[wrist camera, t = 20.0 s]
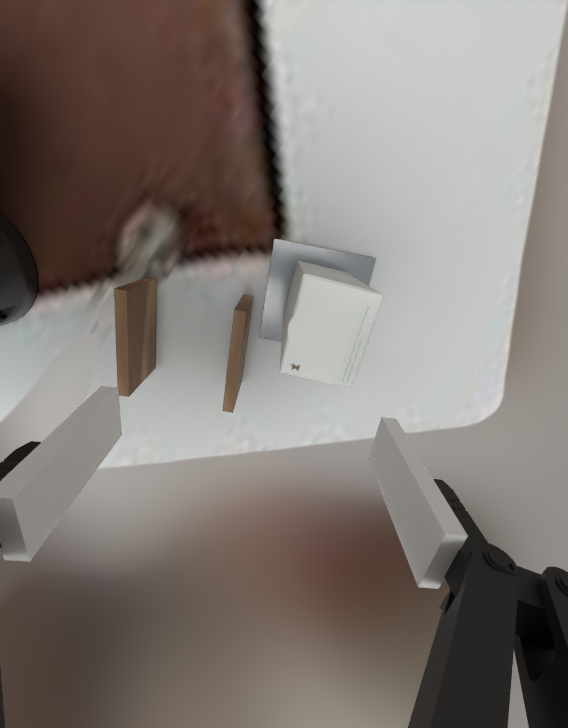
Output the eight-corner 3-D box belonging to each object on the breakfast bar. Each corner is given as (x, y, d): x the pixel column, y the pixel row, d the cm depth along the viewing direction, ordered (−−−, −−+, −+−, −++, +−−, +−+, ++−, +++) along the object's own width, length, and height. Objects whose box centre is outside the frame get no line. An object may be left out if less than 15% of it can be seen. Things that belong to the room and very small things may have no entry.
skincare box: (328, 335, 40) (353, 394, 26) (278, 323, 40) (275, 377, 25) (349, 269, 37) (390, 295, 23) (295, 255, 36) (302, 273, 22)
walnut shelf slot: (146, 366, 43) (117, 395, 35) (147, 277, 38) (114, 288, 31) (241, 381, 44) (232, 412, 36) (253, 296, 39) (246, 311, 32)
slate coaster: (259, 335, 41) (259, 337, 40) (274, 238, 36) (274, 238, 36) (348, 351, 42) (349, 352, 41) (374, 257, 37) (376, 258, 37)
